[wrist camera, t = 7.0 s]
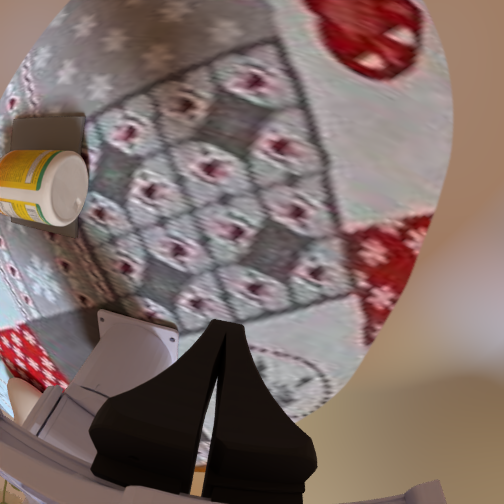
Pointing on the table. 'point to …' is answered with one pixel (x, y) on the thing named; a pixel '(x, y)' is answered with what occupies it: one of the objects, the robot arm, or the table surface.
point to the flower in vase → (19, 419)
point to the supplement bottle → (43, 185)
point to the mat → (48, 138)
